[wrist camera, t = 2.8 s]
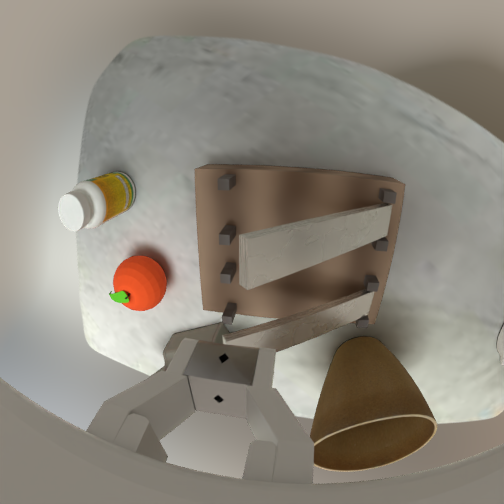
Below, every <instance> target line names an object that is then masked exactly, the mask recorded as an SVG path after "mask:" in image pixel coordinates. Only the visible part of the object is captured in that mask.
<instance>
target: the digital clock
mask: <svg viewBox="0 0 504 504" xmlns="http://www.w3.org/2000/svg"><path fill="white" fill-rule="evenodd" d="M225 334H229V332H228V330H227V328H226V327H225V325H224V324H223V323H218V324H214V325H210V326H206V327H202V328H198V329H193V330H189V331H185V332H180V333H176V334H173V335H172V337H171V339H170V340H169V342H168V344H167V345H166V347H165V349H164V351H163V356H164V359H165V366H164V367H162V368H161V369H160V370H158V371H157V372H156V373H158V372H160V371H166V370H167V368H168V366H169V364H170V362H171V361H172V359H173V357H174V355H175V353H176V351H177V349H178V347H179V345H180V343H181V341H182V340H183V339H184V338H190V339H195V340H203V341H208V342H214V343H220V344H223V337H222V335H225ZM156 373H154V374H153V375H155V374H156ZM153 375H151V376H153ZM151 376H150V377H151Z"/></svg>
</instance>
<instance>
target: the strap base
mask: <svg viewBox="0 0 504 504" xmlns="http://www.w3.org/2000/svg"><path fill="white" fill-rule="evenodd" d="M404 190H405V184H404V183H402V182H400V181H398V180H396V179H394V178H391V177H384V176H377V175H370V174H362V173H354V172H345V171H335V170H325V169H314V168H300V167H285V166H265V165H228V164H207V165H204V166H202V167H199V168H196V169H195V194H196V217H197V236H198V252H199V266H200V279H201V291H202V302H203V310H208V311H215V312H223V315H222V323H223V324H231V325H232V323H233V320H234V317H235V314H240V315H249V316H259V317H269V318H279V319H280V318H283V317H286V316H289V315H292V314H296V313H299V312H302V311H305V310H308V309H311V308H314V307H317V306H319V305H322V304H325V303H328V302H331V301H334V300H337V299H339V298H342V297H345V296H348V295H350V294H353V293H356V292H358V291H361V290H364V289H366V291H371V292H374V296H373V300H372V303H371V307H370V311H369V314H368V315H366V316H364V317H362V318H359V319H357V320H355V321H353V322H350V323H355V324H356V326H357V327H361V328H367V327H368V324H375V321H376V318H377V314H378V311H379V308H380V304H381V301H382V297H383V293H384V290H385V286H386V282H387V278H388V274H389V270H390V266H391V262H392V257H393V253H394V248H395V243H396V238H397V233H398V228H399V222H400V216H401V210H402V204H403V197H404ZM382 203H390V204H392V211H391V217H390V223H389V229H388V234H387V236H385V237H383V238H380V239H378V240H376V241H373V242H371V243H368V244H366V245H363V246H361V247H359V248H356V249H354V250H351V251H349V252H346V253H344V254H341V255H339V256H336V257H334V258H331V259H329V260H326V261H324V262H321V263H318V264H316V265H313V266H311V267H308V268H306V269H303V270H300V271H298V272H295V273H293V274H290V275H287V276H285V277H282V278H279V279H277V280H274V281H271V282H269V283H266V284H263V285H260V286H258V287H255V288H252V289H249V290H246V289H245V288H244V287H242V286H241V285H240V284H239V235H241V234H245V233H249V232H253V231H258V230H262V229H267V228H271V227H275V226H280V225H284V224H289V223H293V222H298V221H302V220H307V219H311V218H316V217H320V216H325V215H330V214H334V213H339V212H344V211H348V210H353V209H358V208H363V207H367V206H372V205H377V204H382Z"/></svg>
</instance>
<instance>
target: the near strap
mask: <svg viewBox="0 0 504 504" xmlns="http://www.w3.org/2000/svg"><path fill="white" fill-rule="evenodd" d="M391 211H392V204H390V203H382V204H377V205H372V206H367V207H363V208H358V209H353V210H348V211H344V212H339V213H334V214H330V215H325V216H320V217H316V218H311V219H307V220H302V221H298V222H293V223H289V224H284V225H280V226H275V227H271V228H267V229H262V230H258V231H253V232H249V233H245V234H241V235H239V284H240V285H241V286H242V287H244V288H245V289H246V290H249V289H252V288H255V287H258V286H260V285H263V284H266V283H269V282H271V281H274V280H277V279H279V278H282V277H285V276H287V275H290V274H293V273H295V272H298V271H300V270H303V269H306V268H308V267H311V266H313V265H316V264H318V263H321V262H324V261H326V260H329V259H331V258H334V257H336V256H339V255H341V254H344V253H346V252H349V251H351V250H354V249H356V248H359V247H361V246H363V245H366V244H368V243H371V242H373V241H376V240H378V239H380V238H383V237H385V236H387V234H388V229H389V223H390V217H391Z"/></svg>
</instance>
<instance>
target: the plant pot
mask: <svg viewBox="0 0 504 504" xmlns="http://www.w3.org/2000/svg"><path fill="white" fill-rule="evenodd" d="M436 430H437V423H436V420H435V418H434V416H433V414H432V412H431V410H430V408H429V406H428V404H427V402H426V401H425V399H424V397H423V395H422V393H421V391H420V390H419V388H418V387H417V385H416V383H415V382H414V380H413V379H412V377H411V376H410V375H409V373H408V372H407V370H406V369H405V368H404V367H403V365H402V364H401V363H400V362H399V360H398V359H397V358H396V357H395V356H394V355H393V354H392V353H391V352H390V351H389V350H388V349H387V348H386V347H385V346H384V345H383V344H382V343H381V342H380V341H379V340H377V339H376V338H373V337H367V336H362V337H356V338H353V339H351V340H348V341H347V342H345V343H343V344H342V345H341V346H340V347H339V348H338V350H337V351H336V353H335V355H334V358H333V360H332V363H331V365H330V368H329V370H328V373H327V376H326V379H325V382H324V385H323V388H322V391H321V394H320V398H319V401H318V405H317V408H316V412H315V416H314V421H313V425H312V429H311V434H310V438H311V439H312V441H313V442H314V466H316V467H319V468H321V469H325V470H331V471H342V472H344V471H345V472H346V471H347V472H348V471H360V470H368V469H373V468H377V467H381V466H385V465H388V464H390V463H394V462H396V461H399V460H401V459H403V458H405V457H407V456H409V455H411V454H413V453H414V452H416V451H418V450H419V449H421V448H422V447H423V446H424V445H425V444H427V443H428V442H429V441H430V439H431V438H432V437H433V436H434V434H435V433H436Z"/></svg>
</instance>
